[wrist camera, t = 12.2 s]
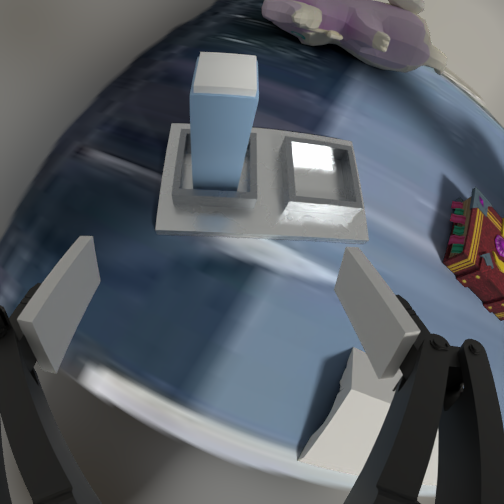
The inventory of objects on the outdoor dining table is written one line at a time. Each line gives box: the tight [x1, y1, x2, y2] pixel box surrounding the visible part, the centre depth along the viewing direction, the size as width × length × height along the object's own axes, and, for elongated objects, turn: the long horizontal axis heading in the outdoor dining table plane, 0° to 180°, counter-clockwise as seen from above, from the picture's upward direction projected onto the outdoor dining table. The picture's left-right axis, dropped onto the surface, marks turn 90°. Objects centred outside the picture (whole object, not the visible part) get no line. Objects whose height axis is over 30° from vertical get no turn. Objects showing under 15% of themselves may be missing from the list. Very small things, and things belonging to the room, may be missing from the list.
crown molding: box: [297, 347, 438, 486], centre depth 23 cm, size 29×12×4 cm, turn 64°
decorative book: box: [443, 187, 504, 321], centre depth 30 cm, size 11×16×5 cm
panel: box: [155, 123, 369, 244], centre depth 28 cm, size 20×12×3 cm, turn 90°
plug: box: [190, 52, 259, 191], centre depth 22 cm, size 4×5×13 cm
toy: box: [262, 0, 447, 75], centre depth 32 cm, size 29×17×30 cm
